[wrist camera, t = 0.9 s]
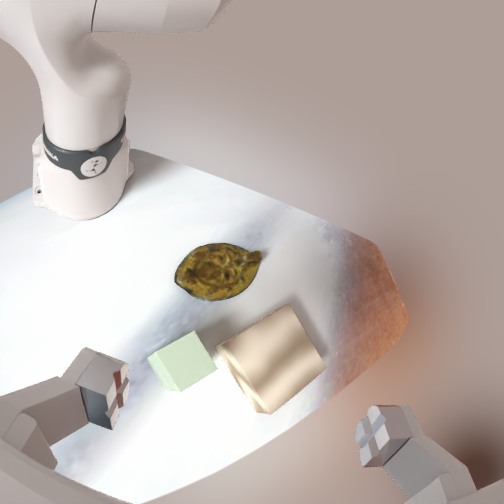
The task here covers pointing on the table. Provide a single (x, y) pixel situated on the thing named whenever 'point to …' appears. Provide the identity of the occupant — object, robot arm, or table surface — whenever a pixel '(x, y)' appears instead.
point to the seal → (217, 271)
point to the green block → (182, 363)
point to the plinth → (272, 360)
